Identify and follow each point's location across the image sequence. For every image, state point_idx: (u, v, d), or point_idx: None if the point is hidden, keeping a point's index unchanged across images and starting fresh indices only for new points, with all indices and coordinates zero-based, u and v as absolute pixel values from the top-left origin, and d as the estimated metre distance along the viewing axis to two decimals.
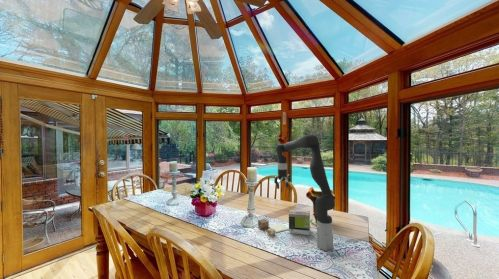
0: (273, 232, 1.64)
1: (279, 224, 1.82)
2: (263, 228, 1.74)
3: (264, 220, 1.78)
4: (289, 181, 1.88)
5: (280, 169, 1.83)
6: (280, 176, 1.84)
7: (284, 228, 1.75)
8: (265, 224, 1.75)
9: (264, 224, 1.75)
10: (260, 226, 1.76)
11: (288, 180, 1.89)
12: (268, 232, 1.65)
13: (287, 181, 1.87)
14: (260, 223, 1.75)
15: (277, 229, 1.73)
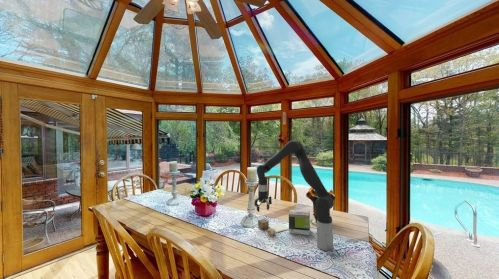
0: (273, 232, 1.64)
1: (279, 224, 1.82)
2: (263, 228, 1.74)
3: (264, 220, 1.78)
4: (270, 203, 1.79)
5: (260, 191, 1.74)
6: (260, 198, 1.75)
7: (284, 228, 1.75)
8: (265, 224, 1.75)
9: (264, 224, 1.75)
10: (260, 226, 1.76)
11: (269, 202, 1.80)
12: (268, 232, 1.65)
13: (268, 203, 1.78)
14: (260, 223, 1.75)
15: (277, 229, 1.73)
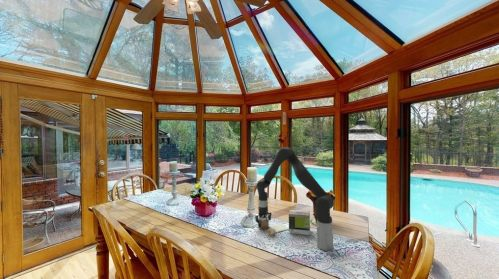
0: (273, 232, 1.64)
1: (279, 224, 1.82)
2: (263, 228, 1.74)
3: (264, 220, 1.78)
4: (269, 219, 1.79)
5: (260, 207, 1.74)
6: (260, 214, 1.75)
7: (284, 228, 1.75)
8: (265, 224, 1.75)
9: (264, 224, 1.75)
10: None
11: (268, 218, 1.80)
12: (268, 232, 1.65)
13: (267, 219, 1.78)
14: None
15: (277, 229, 1.73)
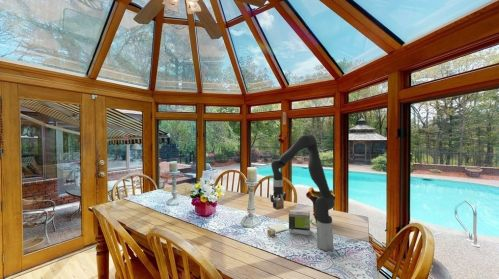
0: (273, 232, 1.64)
1: (279, 224, 1.82)
2: (278, 208, 1.73)
3: (279, 200, 1.76)
4: (284, 199, 1.78)
5: (276, 186, 1.73)
6: (276, 194, 1.74)
7: (284, 228, 1.75)
8: (280, 204, 1.74)
9: (279, 204, 1.73)
10: None
11: (283, 198, 1.79)
12: (268, 232, 1.65)
13: (282, 199, 1.77)
14: None
15: (277, 229, 1.73)
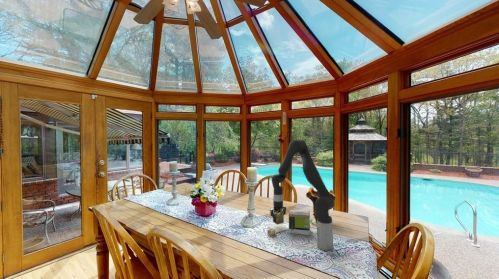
0: (273, 232, 1.64)
1: (279, 224, 1.82)
2: (278, 222, 1.74)
3: (279, 214, 1.77)
4: (284, 213, 1.78)
5: (276, 201, 1.73)
6: (276, 208, 1.74)
7: (284, 228, 1.75)
8: (280, 218, 1.74)
9: (279, 218, 1.74)
10: None
11: (283, 212, 1.79)
12: (268, 232, 1.65)
13: (282, 213, 1.77)
14: None
15: (277, 229, 1.73)
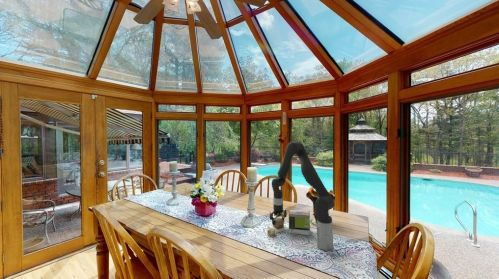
0: (273, 232, 1.64)
1: None
2: (278, 227, 1.74)
3: (279, 219, 1.77)
4: (285, 216, 1.79)
5: (276, 205, 1.73)
6: (276, 212, 1.74)
7: (284, 228, 1.75)
8: (280, 223, 1.74)
9: (279, 223, 1.74)
10: (275, 225, 1.75)
11: (284, 215, 1.80)
12: (268, 232, 1.65)
13: (283, 216, 1.78)
14: (275, 222, 1.75)
15: (277, 229, 1.73)
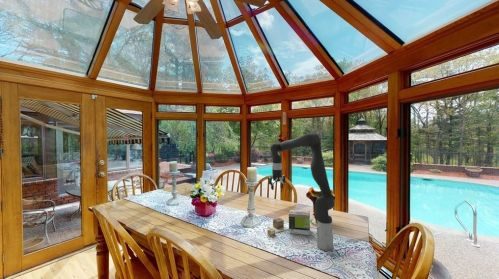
0: (273, 232, 1.64)
1: None
2: (278, 227, 1.74)
3: (279, 219, 1.77)
4: (284, 182, 1.80)
5: (275, 169, 1.75)
6: (275, 177, 1.76)
7: (284, 228, 1.75)
8: (280, 223, 1.74)
9: (279, 223, 1.74)
10: (275, 225, 1.75)
11: (283, 181, 1.82)
12: (268, 232, 1.65)
13: (282, 182, 1.79)
14: (275, 222, 1.75)
15: (277, 229, 1.73)
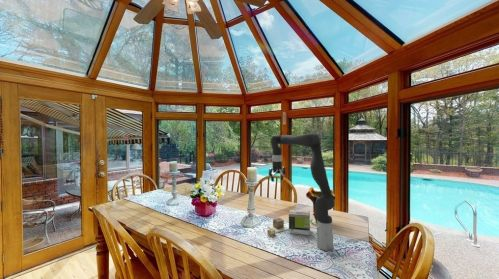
0: (273, 232, 1.64)
1: None
2: (278, 227, 1.74)
3: (279, 219, 1.77)
4: (284, 174, 1.82)
5: (275, 161, 1.76)
6: (275, 168, 1.78)
7: (284, 228, 1.75)
8: (280, 223, 1.74)
9: (279, 223, 1.74)
10: (275, 225, 1.75)
11: (283, 173, 1.83)
12: (268, 232, 1.65)
13: (282, 174, 1.81)
14: (275, 222, 1.75)
15: (277, 229, 1.73)
